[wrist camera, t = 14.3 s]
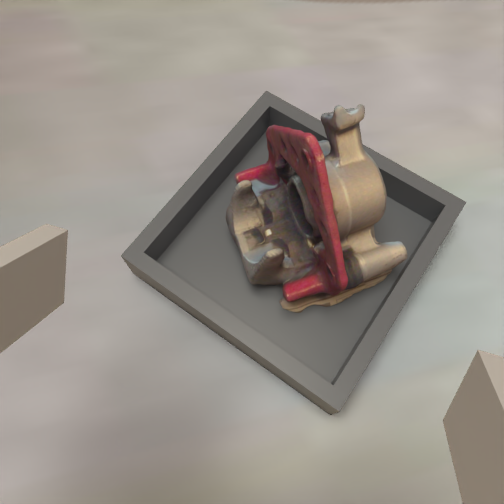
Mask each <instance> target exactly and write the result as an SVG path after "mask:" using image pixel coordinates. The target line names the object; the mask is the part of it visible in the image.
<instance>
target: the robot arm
mask: <svg viewBox="0 0 504 504" xmlns="http://www.w3.org/2000/svg"><path fill="white" fill-rule="evenodd" d="M67 235H68V230H65V229H62V228H59V227H55V226H52V225H48V224H45V225H43V226H41V227H39V228H37V229H35V230H33V231H31V232H29V233H27V234H25V235H23V236H21V237H19V238H17V239H15V240H13V241H11V242H9V243H7V244H5V245H3V246H1V247H0V353H1V352H3V351H4V350H5V349H6V348H8V347H9V346H10V345H11V344H13V343H14V342H15V341H16V340H18V339H19V338H20V337H21V336H23V335H24V334H25V333H26V332H28V331H29V330H30V329H31V328H33V327H34V326H35V325H36V324H38V323H39V322H40V321H41V320H43V319H44V318H45V317H46V316H48V315H49V314H50V313H52V312H53V311H54V310H55V309H57V308H58V307H59V306H60V305H62V304H63V303H64V292H65V273H66V254H67ZM443 423H444V428H445V432H446V436H447V440H448V444H449V448H450V452H451V456H452V460H453V465H454V469H455V473H456V477H457V481H458V485H459V489H460V493H461V497H462V501H463V504H504V357H501V356H497V355H494V354H490V353H487V352H484V351H480V350H478V351H477V353H476V355H475V357H474V359H473V361H472V363H471V365H470V367H469V369H468V371H467V373H466V375H465V377H464V379H463V381H462V383H461V385H460V387H459V389H458V391H457V393H456V395H455V397H454V399H453V401H452V403H451V405H450V407H449V409H448V411H447V413H446V415H445V417H444V419H443Z"/></svg>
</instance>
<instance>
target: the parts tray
mask: <svg viewBox="0 0 504 504" xmlns="http://www.w3.org/2000/svg"><path fill="white" fill-rule="evenodd" d="M272 125H277V126H283V127H289V128H291V129H295V130H301V131H303V132H304V133H311V134H312V135H314V136H315V137H316V139H317V140H318V141H322V140H328V139H327V136H326V133H325V129H324V126H323V124H322V122H321V121H320V120H318V119H316V118H314V117H313V116H311V115H309V114H307V113H305V112H304V111H302V110H300V109H298V108H296V107H295V106H293V105H291V104H289V103H287V102H286V101H284V100H282V99H280V98H279V97H277V96H275V95H273V94H271V93H270V92H268V91H265V93H264V94H263V95H262V96H261V97H260V98H259V99H258V101H257V102H256V103H255V104H254V105H253V106H252V107H251V109H250V110H249V111H248V112H247V113H246V114H245V115H244V116H243V118H242V119H241V120H240V121H239V122H238V123H237V124H236V126H235V127H234V128H233V129H232V130H231V131H230V132H229V134H228V135H227V136H226V137H225V138H224V139H223V140H222V141H221V143H220V144H219V145H218V146H217V147H216V148H215V149H214V151H213V152H212V153H211V154H210V155H209V156H208V157H207V159H206V160H205V161H204V162H203V163H202V164H201V165H200V167H199V168H198V169H197V170H196V171H195V172H194V173H193V174H192V176H191V177H190V178H189V179H188V180H187V181H186V182H185V184H184V185H183V186H182V187H181V188H180V189H179V190H178V192H177V193H176V194H175V195H174V196H173V197H172V198H171V199H170V201H169V202H168V203H167V204H166V205H165V206H164V207H163V209H162V210H161V211H160V212H159V213H158V214H157V215H156V217H155V218H154V219H153V220H152V221H151V222H150V223H149V224H148V226H147V227H146V228H145V229H144V230H143V231H142V232H141V234H140V235H139V236H138V237H137V238H136V239H135V240H134V242H133V243H132V244H131V245H130V246H129V247H128V248H127V250H126V251H125V252H124V253H123V254H122V255H121V257H122V258H123V259H124V261H125V262H126V264H127V265H128V267H129V268H130V269H131V271H132V272H133V274H135V275H136V276H138V277H139V278H140V279H142V280H143V281H145V282H146V283H147V284H149V285H150V286H152V287H153V288H154V289H156V290H157V291H158V292H160V293H161V294H163V295H164V296H165V297H167V298H168V299H170V300H171V301H172V302H174V303H175V304H177V305H178V306H179V307H181V308H182V309H184V310H185V311H186V312H188V313H189V314H190V315H192V316H193V317H195V318H196V319H197V320H199V321H200V322H202V323H203V324H204V325H206V326H207V327H209V328H210V329H211V330H213V331H214V332H216V333H217V334H218V335H220V336H221V337H222V338H224V339H225V340H227V341H228V342H229V343H231V344H232V345H234V346H235V347H236V348H238V349H239V350H241V351H242V352H243V353H245V354H246V355H248V356H249V357H250V358H252V359H253V360H254V361H256V362H257V363H259V364H260V365H261V366H263V367H264V368H266V369H267V370H268V371H270V372H271V373H273V374H274V375H275V376H277V377H278V378H280V379H281V380H282V381H284V382H285V383H286V384H288V385H289V386H291V387H292V388H293V389H295V390H296V391H298V392H299V393H300V394H302V395H303V396H305V397H306V398H307V399H309V400H310V401H312V402H313V403H314V404H316V405H317V406H318V407H320V408H321V409H323V410H324V411H325V412H327V413H328V414H330V415H332V414H335V413H338V412H340V410H341V409H342V407H343V405H344V404H345V402H346V400H347V399H348V397H349V395H350V394H351V392H352V390H353V389H354V387H355V385H356V384H357V382H358V381H359V379H360V377H361V376H362V374H363V372H364V371H365V369H366V367H367V366H368V364H369V362H370V361H371V359H372V357H373V356H374V354H375V352H376V351H377V349H378V347H379V346H380V344H381V342H382V341H383V339H384V338H385V336H386V334H387V333H388V331H389V329H390V328H391V326H392V324H393V323H394V321H395V319H396V318H397V316H398V314H399V313H400V311H401V309H402V308H403V306H404V304H405V303H406V301H407V299H408V298H409V296H410V295H411V293H412V291H413V290H414V288H415V286H416V285H417V283H418V281H419V280H420V278H421V276H422V275H423V273H424V271H425V270H426V268H427V266H428V265H429V263H430V261H431V260H432V258H433V256H434V255H435V253H436V252H437V250H438V248H439V247H440V245H441V243H442V242H443V240H444V238H445V237H446V235H447V233H448V232H449V230H450V228H451V227H452V225H453V223H454V222H455V220H456V218H457V217H458V215H459V213H460V212H461V210H462V209H463V207H464V205H465V204H466V202H465V201H463V200H462V199H460V198H458V197H456V196H454V195H453V194H451V193H449V192H447V191H445V190H444V189H442V188H440V187H438V186H436V185H435V184H433V183H431V182H429V181H427V180H426V179H424V178H422V177H420V176H418V175H417V174H415V173H413V172H411V171H410V170H408V169H406V168H404V167H402V166H401V165H399V164H397V163H395V162H393V161H392V160H390V159H388V158H386V157H384V156H383V155H381V154H379V153H377V152H375V151H374V150H372V149H370V148H368V147H366V146H365V145H363V144H362V146H363V149H364V150H365V152H366V153H368V154H369V155H370V156H371V157H372V159H373V160H374V161H375V163H376V164H377V166H378V168H379V170H380V172H381V175H382V178H383V181H384V184H385V188H386V194H387V197H386V209H385V212H384V215H383V216H382V218H381V219H380V220H379V221H378V222H377V223H375V224H374V231H375V239H376V241H377V242H379V243H384V242H395V241H399V242H402V243H403V245H404V246H405V248H406V250H407V259H406V260H405V261H403V262H402V263H400V264H399V265H397V266H396V267H394V268H393V269H392V271H391V273H390V274H388V275H387V277H386V278H385V279H384V280H383V281H381V282H380V283H378V284H376V285H375V286H372V287H370V288H367V289H363V290H362V291H360V292H357V293H354V294H353V295H352V296H351V297H349V298H347V299H345V300H344V301H342V302H340V303H337V304H335V305H332V306H328V307H324V306H320V305H311V306H308V307H306V308H305V309H304V310H303V311H302V312H300V313H296V312H291V311H289V310H286V309H283V308H282V306H281V304H280V303H279V301H280V299H282V298H284V297H283V291H282V286H283V284H278V285H262V284H255V285H253V284H251V283H250V282H249V280H248V277H247V274H246V271H245V268H244V265H243V262H242V258H241V255H240V252H239V249H238V247H237V245H236V244H235V242H234V240H233V238H232V236H231V234H230V231H229V228H228V225H227V222H226V210H227V208H228V206H229V204H230V201H231V197H232V195H233V192H234V190H235V187H236V186H237V183H236V182H235V181H234V175H235V174H236V173H238V172H241V171H243V170H246V169H249V168H253V167H256V166H259V165H262V164H265V163H266V162H267V161H268V158H269V151H268V148H267V138H266V131H267V129H268V127H269V126H272Z"/></svg>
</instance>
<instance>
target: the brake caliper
mask: <svg viewBox="0 0 504 504" xmlns="http://www.w3.org/2000/svg"><path fill="white" fill-rule="evenodd" d="M364 114H365V108H364V106H363V105H361V104H360V105H358V106H357V108H356V109H354V108H350V109H345V108H343V107H342V106H340V105H337V106H336V107H335V108H334V112H331V113H324V114H322V116H321V122H322V124H323V126H324V129H325V133H326V136H327V139H328V140H322V141H318V140H317V139H316V137H315V136H314V135H312V134H311V133H304V132H303V131H301V130H295V129H291V128H289V127H283V126H277V125H272V126H269V127H268V129H267V131H266V138H267V148H268V151H269V158H268V161H267V162H266V163H265V164H262V165H259V166H256V167H253V168H249V169H246V170H243V171H241V172H238V173H236V174H235V175H234V181H235V182H236V183H237V186H236V187H235V190H234V192H233V195H232V197H231V201H230V204H229V206H228V208H227V210H226V222H227V225H228V228H229V231H230V234H231V236H232V238H233V240H234V242H235V244H236V245H237V247H238V249H239V252H240V255H241V258H242V262H243V265H244V268H245V271H246V274H247V277H248V280H249V282H250V283H251V284H253V285H255V284H262V285H278V284H283V286H282V291H283V297H284V298H282V299H280V301H279V303H280V304H281V306H282V308H283V309H286V310H289V311H291V312H296V313H300V312H302V311H303V310H304V309H305V308H306V307H308V306H311V305H320V306H324V307H328V306H332V305H335V304H337V303H340V302H342V301H344V300H345V299H347V298H349V297H351V296H352V295H353V294H354V293H357V292H360V291H362V290H363V289H367V288H370V287H372V286H375V285H376V284H378V283H380V282H381V281H383V280H384V279H385V278H386V277H387V275H388V274H390V273H391V271H392V269H393V268H394V267H396V266H397V265H399V264H400V263H402V262H403V261H405V260H406V259H407V250H406V248H405V246H404V245H403V243H402V242H399V241H395V242H384V243H379V242H377V241H376V239H375V231H374V224H375V223H377V222H378V221H379V220H380V219H381V218H382V216H383V215H384V212H385V209H386V197H387V194H386V188H385V184H384V181H383V178H382V175H381V172H380V170H379V168H378V166H377V164H376V163H375V161H374V160H373V159H372V157H371V156H370V155H369V154H368V153H366V152H365V150H364V149H363V146H362V140H361V133H360V127H359V122H360V121H361V120H362V119H363V118H364Z"/></svg>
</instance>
